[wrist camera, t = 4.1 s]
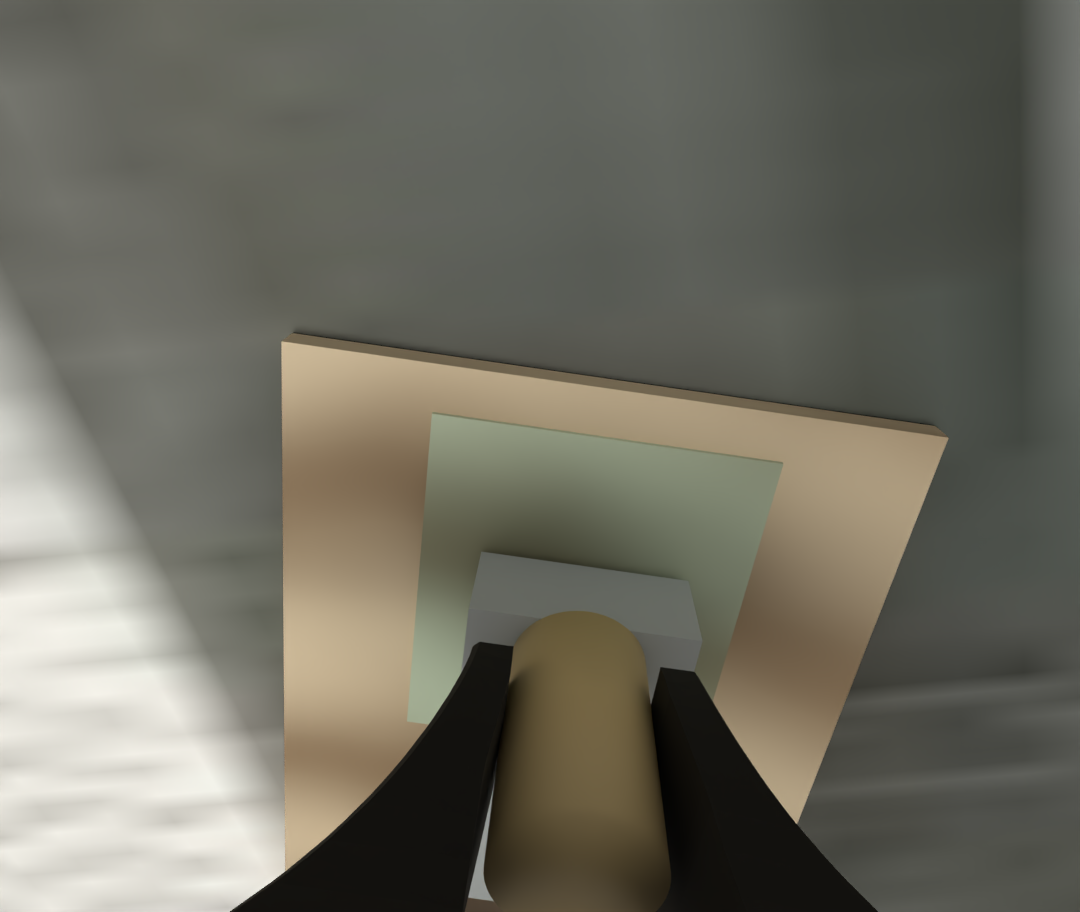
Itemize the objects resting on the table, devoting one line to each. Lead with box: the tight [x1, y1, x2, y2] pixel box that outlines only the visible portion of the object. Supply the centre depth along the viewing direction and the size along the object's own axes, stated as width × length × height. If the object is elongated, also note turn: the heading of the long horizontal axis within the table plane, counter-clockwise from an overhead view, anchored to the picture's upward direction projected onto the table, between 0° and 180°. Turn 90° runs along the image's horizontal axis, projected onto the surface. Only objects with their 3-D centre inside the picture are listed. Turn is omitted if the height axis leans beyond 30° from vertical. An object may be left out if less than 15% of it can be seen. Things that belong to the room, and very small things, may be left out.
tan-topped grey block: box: [461, 552, 702, 912], centre depth 15 cm, size 8×4×6 cm, turn 173°
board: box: [282, 333, 948, 912], centre depth 20 cm, size 23×13×1 cm, turn 172°
